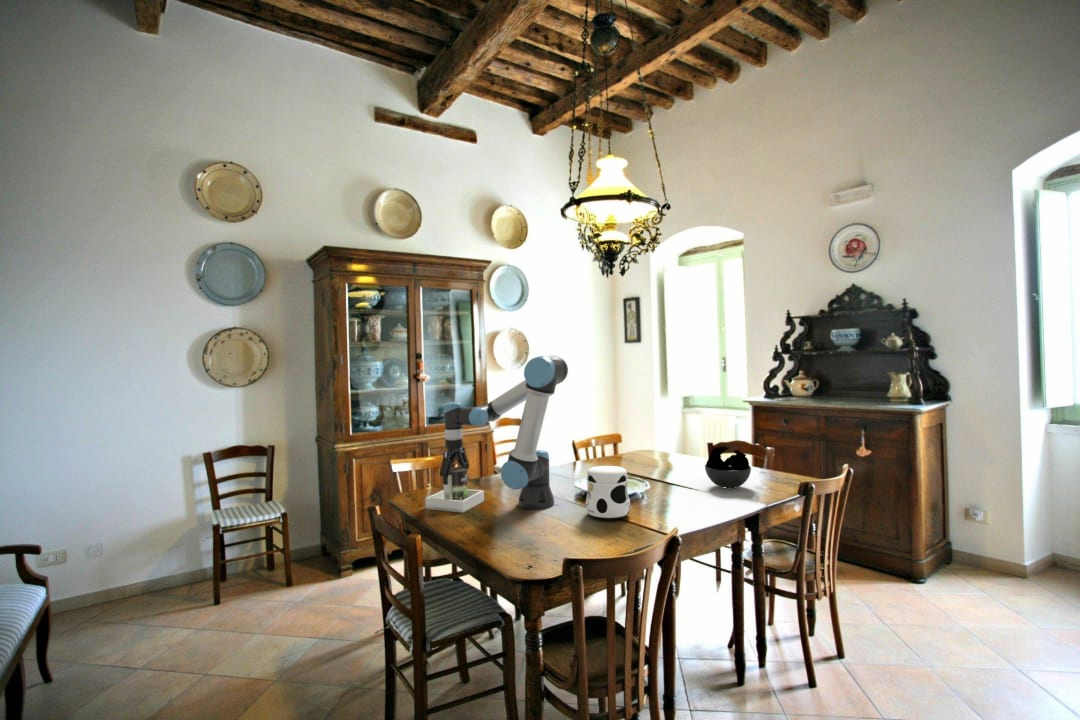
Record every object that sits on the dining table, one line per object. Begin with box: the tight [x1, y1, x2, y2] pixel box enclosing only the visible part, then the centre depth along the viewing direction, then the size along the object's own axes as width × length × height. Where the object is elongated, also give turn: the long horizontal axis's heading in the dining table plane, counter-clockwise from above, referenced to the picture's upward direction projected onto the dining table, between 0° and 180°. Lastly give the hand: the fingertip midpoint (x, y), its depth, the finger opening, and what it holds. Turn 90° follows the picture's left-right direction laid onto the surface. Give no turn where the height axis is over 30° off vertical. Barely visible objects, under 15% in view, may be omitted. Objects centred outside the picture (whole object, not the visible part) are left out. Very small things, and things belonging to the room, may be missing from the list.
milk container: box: [585, 465, 631, 520], centre depth 210 cm, size 17×17×18 cm
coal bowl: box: [704, 445, 752, 489], centre depth 247 cm, size 20×20×19 cm
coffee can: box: [444, 466, 469, 501], centre depth 231 cm, size 10×10×14 cm
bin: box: [425, 488, 485, 514], centre depth 231 cm, size 18×18×4 cm
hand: (455, 488), depth 231 cm, fingers open, 13 cm apart
